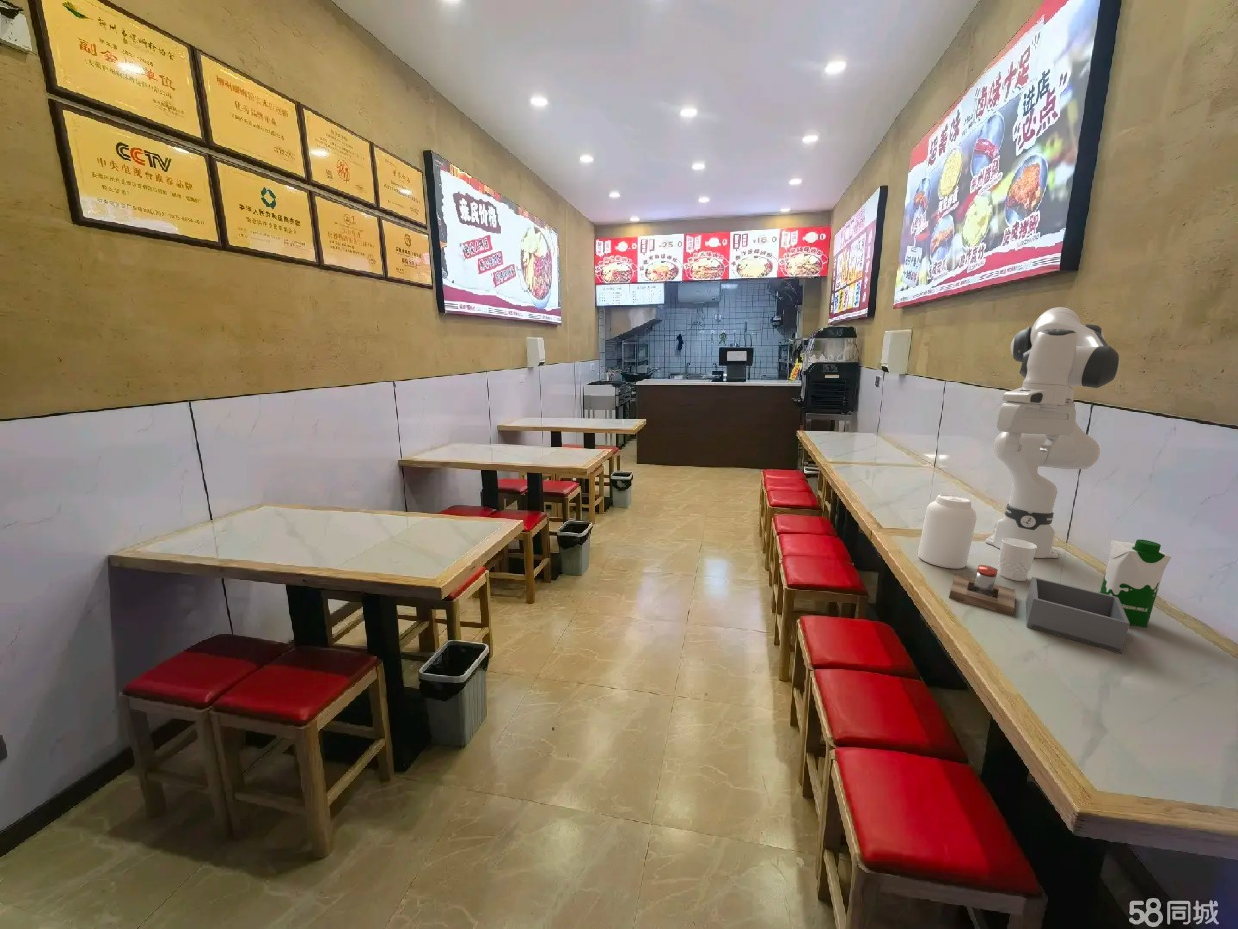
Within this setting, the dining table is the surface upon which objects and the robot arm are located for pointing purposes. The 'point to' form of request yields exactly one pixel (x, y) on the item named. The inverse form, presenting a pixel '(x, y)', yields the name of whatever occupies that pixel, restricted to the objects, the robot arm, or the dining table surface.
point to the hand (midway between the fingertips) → (1030, 451)
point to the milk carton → (1135, 577)
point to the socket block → (1000, 604)
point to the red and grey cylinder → (985, 580)
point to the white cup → (1015, 558)
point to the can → (947, 532)
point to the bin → (1076, 614)
